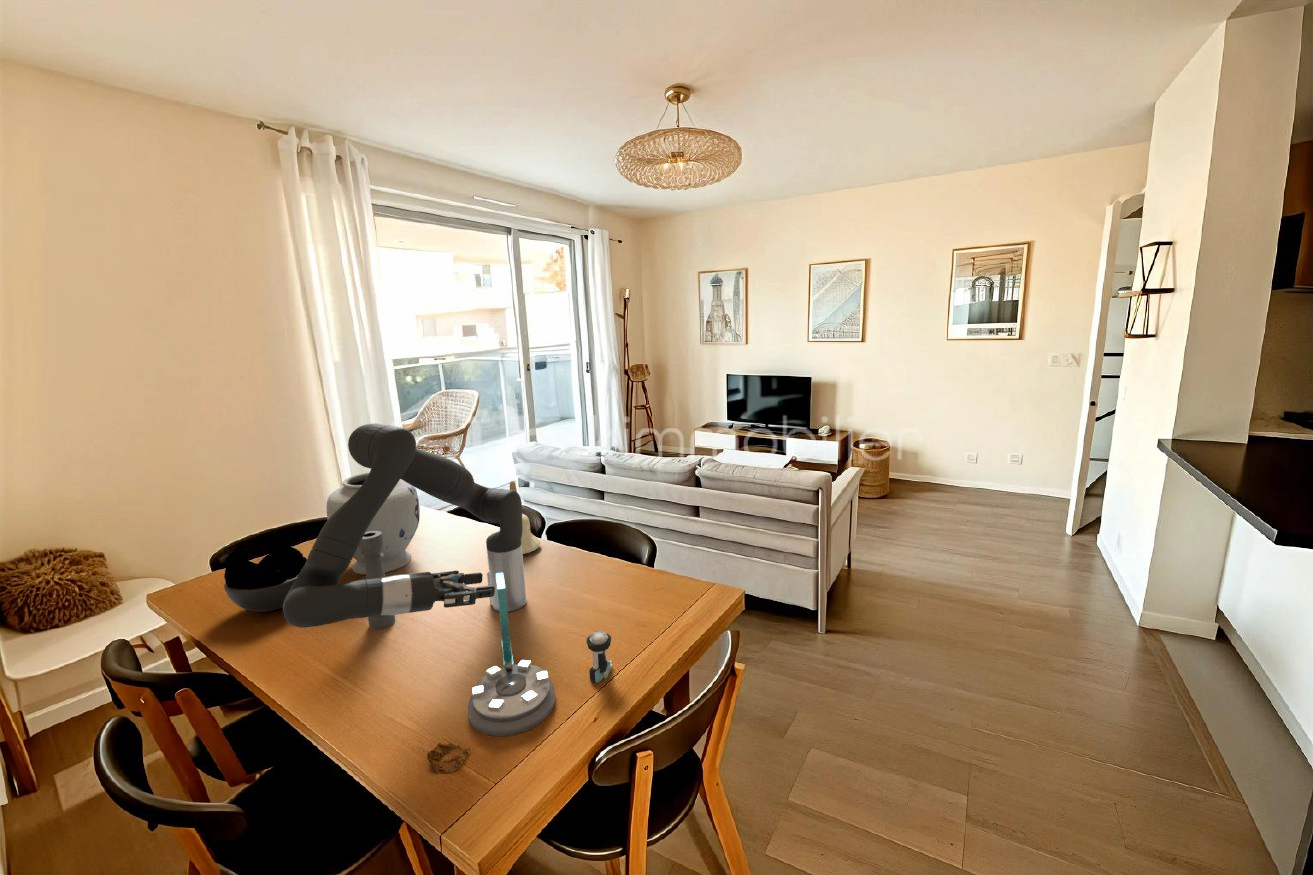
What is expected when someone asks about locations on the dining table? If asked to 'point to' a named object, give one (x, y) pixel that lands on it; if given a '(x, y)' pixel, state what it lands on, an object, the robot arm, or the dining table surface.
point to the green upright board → (509, 679)
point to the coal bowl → (262, 577)
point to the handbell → (526, 531)
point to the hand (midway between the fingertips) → (487, 583)
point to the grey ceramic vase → (384, 521)
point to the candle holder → (374, 572)
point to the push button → (599, 655)
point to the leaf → (442, 750)
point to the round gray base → (515, 725)
